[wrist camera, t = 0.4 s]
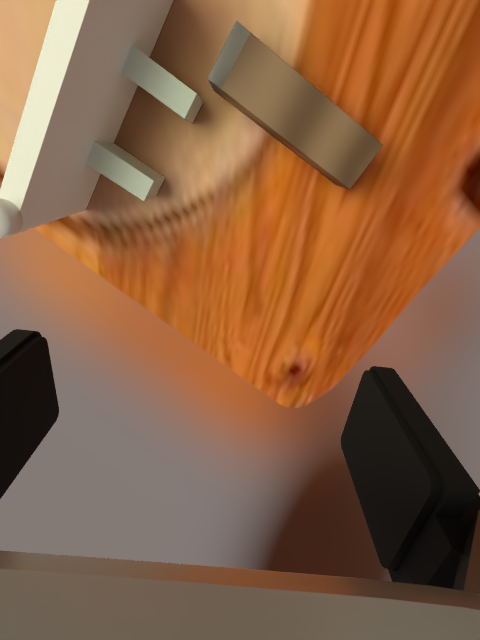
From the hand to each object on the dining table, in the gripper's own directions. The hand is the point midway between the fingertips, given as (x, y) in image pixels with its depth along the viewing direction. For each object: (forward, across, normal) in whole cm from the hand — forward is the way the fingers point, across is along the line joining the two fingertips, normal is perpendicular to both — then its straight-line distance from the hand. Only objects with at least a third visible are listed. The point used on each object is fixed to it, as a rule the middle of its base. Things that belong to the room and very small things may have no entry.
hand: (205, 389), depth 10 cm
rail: (+27, -4, -10) cm, 29 cm away
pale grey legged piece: (+27, +9, -8) cm, 30 cm away
